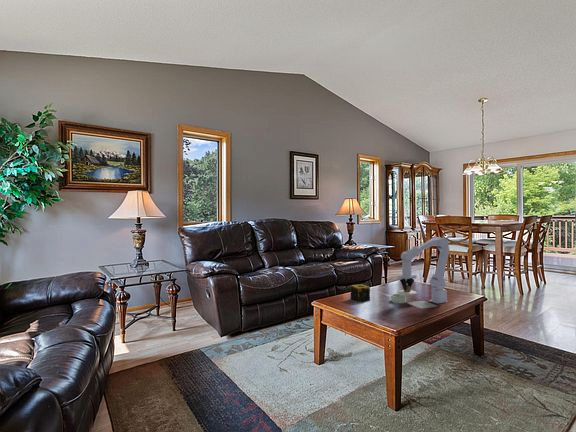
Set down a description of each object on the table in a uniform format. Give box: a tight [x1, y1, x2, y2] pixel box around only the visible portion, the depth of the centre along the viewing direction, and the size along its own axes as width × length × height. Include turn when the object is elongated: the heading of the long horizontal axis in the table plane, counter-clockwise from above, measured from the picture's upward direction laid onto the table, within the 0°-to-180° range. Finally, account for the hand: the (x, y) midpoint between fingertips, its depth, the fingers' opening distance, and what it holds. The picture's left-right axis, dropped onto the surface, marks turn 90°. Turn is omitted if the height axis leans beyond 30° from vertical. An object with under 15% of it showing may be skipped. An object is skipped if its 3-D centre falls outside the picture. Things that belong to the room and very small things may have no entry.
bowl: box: [390, 293, 407, 304], centre depth 220 cm, size 10×10×4 cm
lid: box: [397, 285, 418, 296], centre depth 217 cm, size 12×12×5 cm
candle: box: [350, 283, 371, 303], centre depth 227 cm, size 10×10×10 cm
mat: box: [406, 300, 438, 309], centre depth 212 cm, size 14×14×1 cm
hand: (407, 289), depth 217 cm, fingers closed on lid, 3 cm apart
